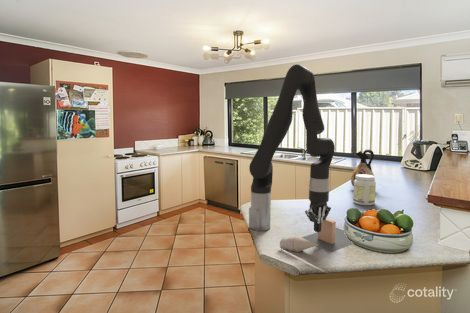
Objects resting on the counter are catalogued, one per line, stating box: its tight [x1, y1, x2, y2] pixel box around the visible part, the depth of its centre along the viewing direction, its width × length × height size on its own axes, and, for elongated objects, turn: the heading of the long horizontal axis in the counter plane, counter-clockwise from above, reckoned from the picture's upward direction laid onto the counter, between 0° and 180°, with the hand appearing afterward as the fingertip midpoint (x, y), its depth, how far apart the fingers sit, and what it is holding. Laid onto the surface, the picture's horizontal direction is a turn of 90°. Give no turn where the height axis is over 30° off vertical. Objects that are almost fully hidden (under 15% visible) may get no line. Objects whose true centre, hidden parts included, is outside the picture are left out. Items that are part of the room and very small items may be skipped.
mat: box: [300, 227, 355, 254], centre depth 123 cm, size 24×16×1 cm, turn 124°
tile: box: [318, 218, 337, 244], centre depth 120 cm, size 2×7×9 cm, turn 34°
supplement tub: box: [352, 174, 377, 206], centre depth 177 cm, size 12×12×17 cm
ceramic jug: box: [350, 149, 376, 187], centre depth 206 cm, size 17×15×30 cm
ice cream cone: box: [279, 235, 318, 253], centre depth 111 cm, size 6×6×15 cm
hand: (317, 231), depth 117 cm, fingers closed
